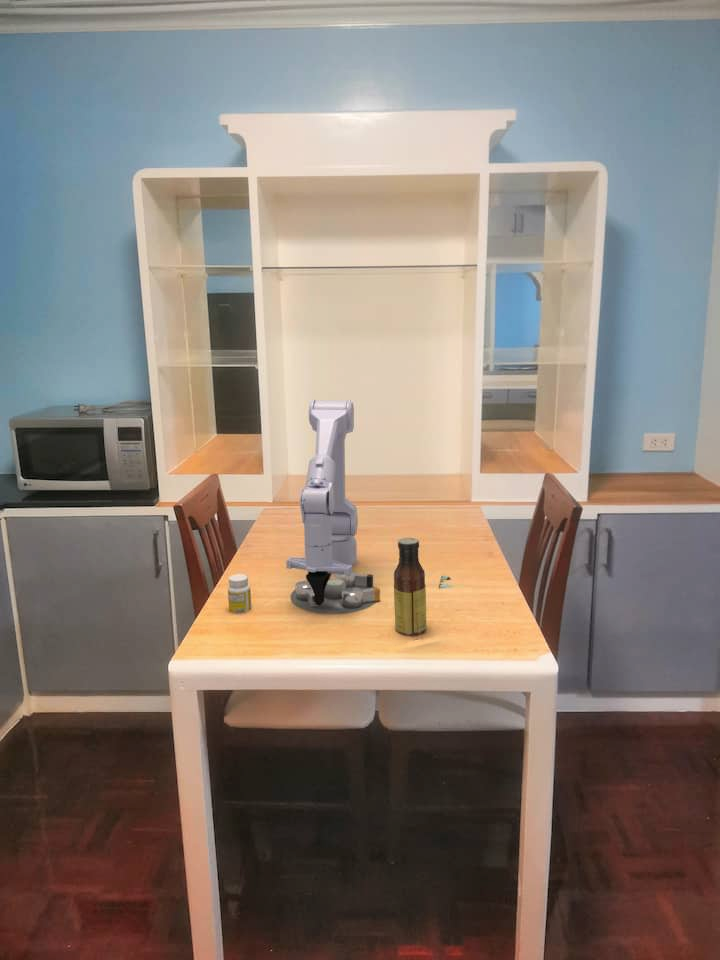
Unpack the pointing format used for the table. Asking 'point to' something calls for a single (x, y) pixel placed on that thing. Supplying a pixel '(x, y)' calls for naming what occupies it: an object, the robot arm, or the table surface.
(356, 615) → the table surface
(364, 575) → the knob black
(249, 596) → the supplement bottle
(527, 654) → the table surface
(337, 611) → the tribrach plate
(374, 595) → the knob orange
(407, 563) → the sauce bottle
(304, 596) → the silver metal rounded piece
